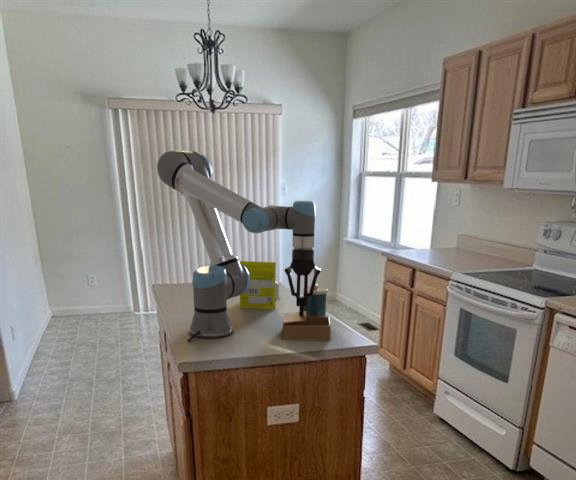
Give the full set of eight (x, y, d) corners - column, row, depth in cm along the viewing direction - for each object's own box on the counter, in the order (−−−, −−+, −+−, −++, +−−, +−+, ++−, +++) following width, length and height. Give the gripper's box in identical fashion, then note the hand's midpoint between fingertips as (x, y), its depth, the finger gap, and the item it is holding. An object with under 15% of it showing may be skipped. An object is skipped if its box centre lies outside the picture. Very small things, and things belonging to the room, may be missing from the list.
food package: (275, 309, 230) (275, 262, 223) (274, 309, 229) (275, 262, 222) (240, 307, 232) (239, 260, 224) (239, 308, 231) (239, 261, 223)
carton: (282, 339, 189) (282, 324, 187) (283, 329, 201) (284, 315, 199) (329, 340, 189) (330, 326, 187) (328, 330, 201) (329, 316, 199)
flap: (283, 323, 187) (282, 322, 187) (284, 314, 199) (284, 313, 199) (306, 321, 187) (306, 320, 186) (306, 312, 198) (306, 311, 198)
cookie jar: (316, 329, 202) (317, 287, 196) (296, 324, 208) (297, 283, 202) (331, 324, 209) (333, 283, 203) (311, 320, 214) (313, 280, 208)
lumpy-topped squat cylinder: (280, 299, 246) (280, 281, 243) (252, 300, 243) (252, 281, 240) (275, 294, 256) (275, 276, 253) (248, 295, 253) (248, 277, 250)
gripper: (321, 247, 187) (319, 312, 196) (284, 246, 187) (283, 311, 196) (322, 250, 180) (319, 318, 189) (283, 249, 180) (282, 317, 189)
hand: (301, 314), depth 192 cm, fingers closed
